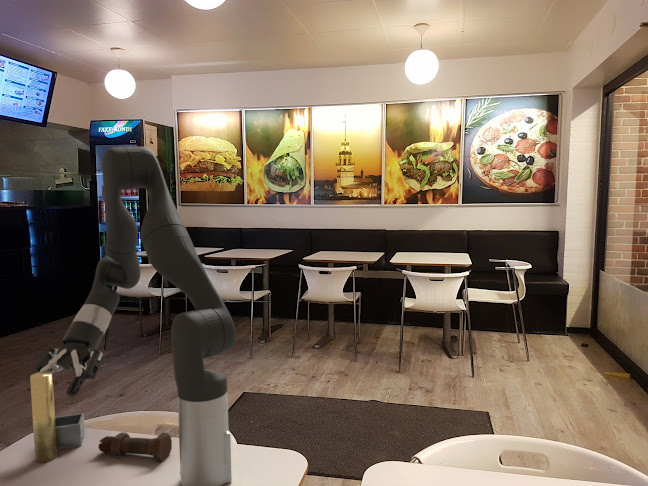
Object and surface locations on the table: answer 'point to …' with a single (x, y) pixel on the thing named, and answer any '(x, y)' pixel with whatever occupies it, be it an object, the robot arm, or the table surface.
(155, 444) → the bolt
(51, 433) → the tall amber cylinder
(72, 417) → the open square box
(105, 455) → the table surface
